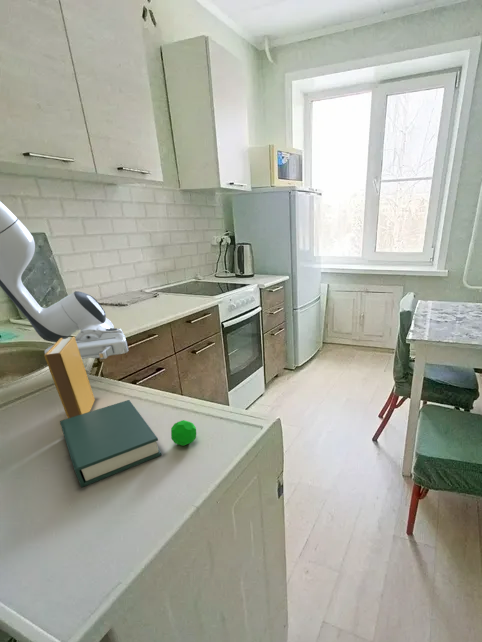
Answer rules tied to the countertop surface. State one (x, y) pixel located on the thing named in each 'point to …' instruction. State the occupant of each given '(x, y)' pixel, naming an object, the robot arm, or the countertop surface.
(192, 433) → the polyhedron
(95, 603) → the countertop surface
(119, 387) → the countertop surface
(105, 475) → the hardcover
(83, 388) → the paperback
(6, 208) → the robot arm
